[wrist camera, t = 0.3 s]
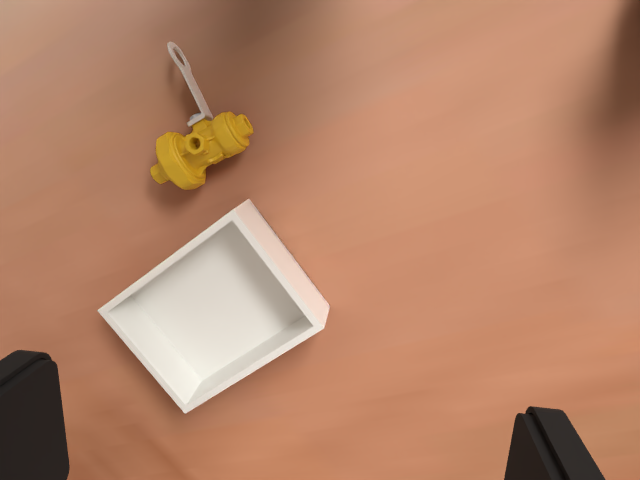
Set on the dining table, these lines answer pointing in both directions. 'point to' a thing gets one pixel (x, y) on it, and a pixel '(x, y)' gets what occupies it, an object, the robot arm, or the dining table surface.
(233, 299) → the bin
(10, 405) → the robot arm
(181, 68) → the pressure relief valve
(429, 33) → the dining table surface
